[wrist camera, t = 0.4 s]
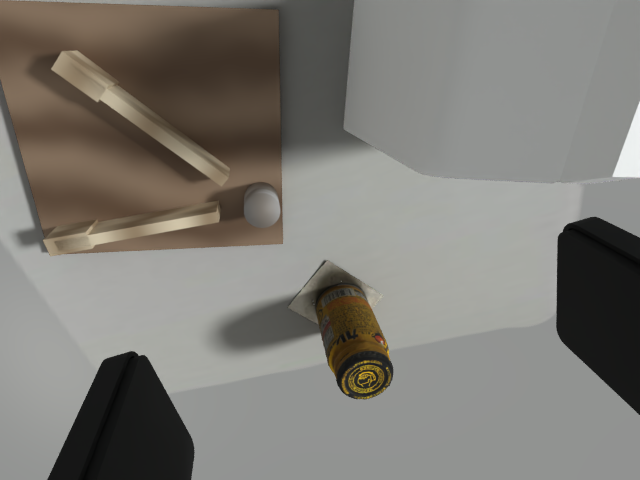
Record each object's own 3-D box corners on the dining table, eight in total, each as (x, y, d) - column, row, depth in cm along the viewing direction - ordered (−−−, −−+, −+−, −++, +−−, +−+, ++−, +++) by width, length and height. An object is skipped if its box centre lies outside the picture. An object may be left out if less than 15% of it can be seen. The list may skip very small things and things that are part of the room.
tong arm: (231, 165, 39) (230, 175, 36) (221, 179, 39) (219, 189, 37) (77, 50, 33) (62, 51, 31) (66, 66, 34) (51, 69, 31)
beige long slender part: (274, 179, 40) (276, 191, 37) (280, 210, 41) (283, 224, 38) (53, 218, 38) (35, 234, 35) (67, 249, 40) (51, 267, 37)
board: (-15, 0, 32) (-23, -1, 31) (277, 10, 35) (278, 9, 34) (53, 250, 41) (49, 254, 40) (282, 239, 44) (282, 243, 43)
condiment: (344, 338, 51) (369, 417, 40) (287, 306, 48) (298, 383, 37) (383, 294, 49) (421, 365, 38) (327, 258, 46) (350, 325, 35)
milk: (355, -18, 35) (565, -135, 12) (483, -6, 37) (881, -86, 14) (343, 129, 40) (473, 249, 17) (456, 133, 42) (714, 247, 19)
